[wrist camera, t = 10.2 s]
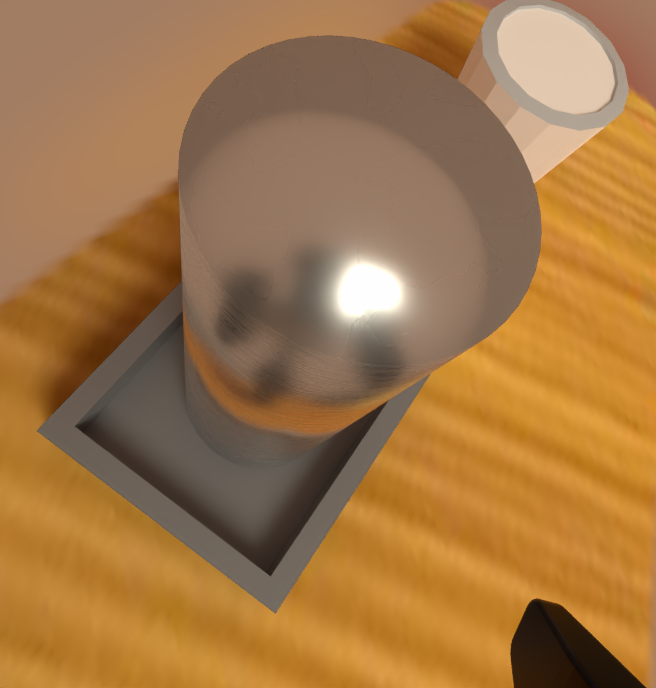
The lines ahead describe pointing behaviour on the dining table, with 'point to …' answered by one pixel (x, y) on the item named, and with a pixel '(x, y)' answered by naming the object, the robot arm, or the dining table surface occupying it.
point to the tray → (211, 462)
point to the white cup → (546, 78)
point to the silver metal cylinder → (339, 239)
